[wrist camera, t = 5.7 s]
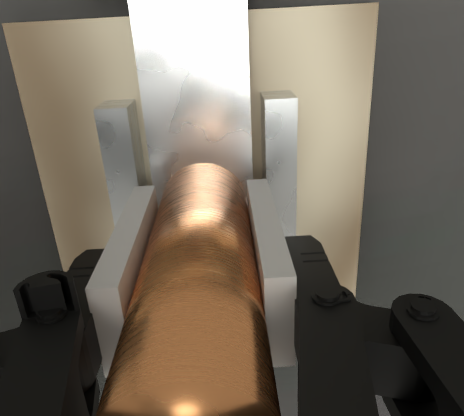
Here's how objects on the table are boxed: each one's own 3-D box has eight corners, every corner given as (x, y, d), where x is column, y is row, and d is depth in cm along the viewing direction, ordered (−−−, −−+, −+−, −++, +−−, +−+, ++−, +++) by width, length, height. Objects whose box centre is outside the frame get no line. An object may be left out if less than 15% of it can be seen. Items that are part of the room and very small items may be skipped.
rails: (144, 334, 22) (138, 363, 20) (105, 100, 17) (91, 110, 15) (288, 325, 22) (295, 353, 20) (289, 90, 17) (298, 98, 15)
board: (85, 331, 23) (80, 341, 22) (11, 22, 17) (1, 23, 16) (348, 314, 23) (353, 324, 22) (371, 3, 17) (378, 2, 16)
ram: (118, 232, 19) (-17, 530, 8) (61, -92, 14) (-490, -470, 3) (297, 221, 19) (406, 502, 8) (301, -105, 14) (592, -518, 3)
